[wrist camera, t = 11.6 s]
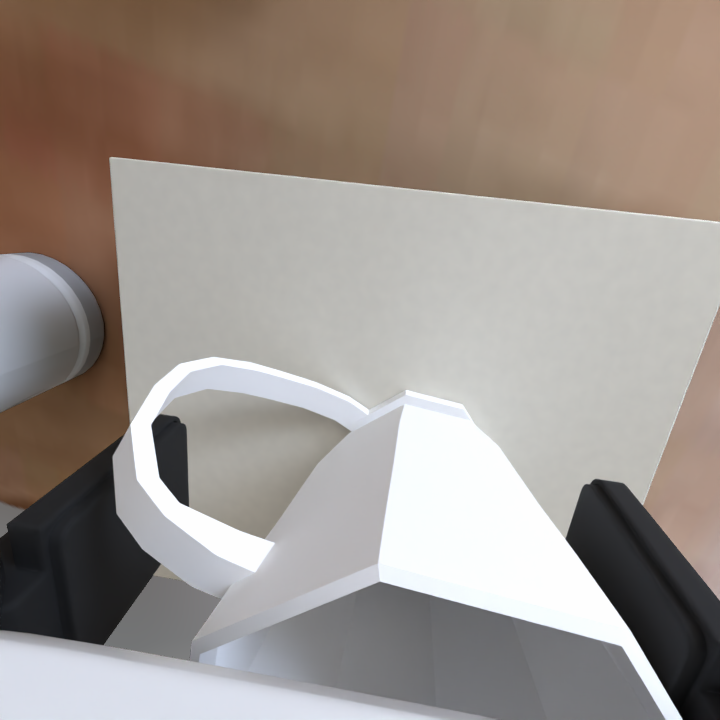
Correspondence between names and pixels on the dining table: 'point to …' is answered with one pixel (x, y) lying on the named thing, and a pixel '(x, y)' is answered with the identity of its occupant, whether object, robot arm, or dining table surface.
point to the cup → (393, 566)
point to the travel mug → (44, 326)
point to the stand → (407, 323)
